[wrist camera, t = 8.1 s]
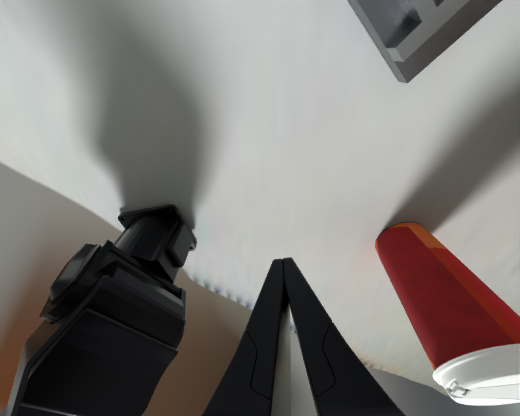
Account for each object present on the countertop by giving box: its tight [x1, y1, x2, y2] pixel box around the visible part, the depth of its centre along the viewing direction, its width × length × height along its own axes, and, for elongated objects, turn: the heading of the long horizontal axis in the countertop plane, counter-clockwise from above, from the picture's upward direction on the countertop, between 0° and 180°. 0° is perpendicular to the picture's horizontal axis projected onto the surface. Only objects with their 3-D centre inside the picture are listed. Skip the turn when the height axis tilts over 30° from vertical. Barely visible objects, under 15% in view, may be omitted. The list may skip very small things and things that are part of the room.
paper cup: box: [375, 222, 520, 405], centre depth 20 cm, size 8×8×14 cm
